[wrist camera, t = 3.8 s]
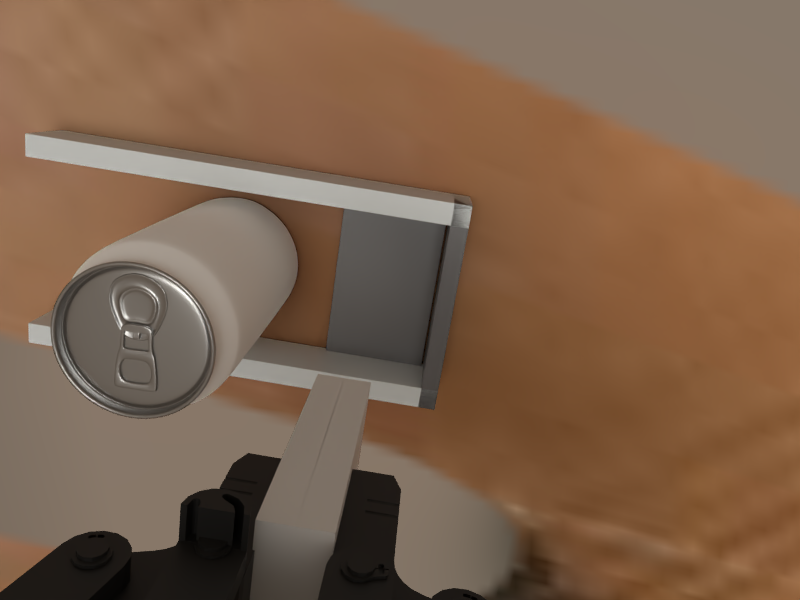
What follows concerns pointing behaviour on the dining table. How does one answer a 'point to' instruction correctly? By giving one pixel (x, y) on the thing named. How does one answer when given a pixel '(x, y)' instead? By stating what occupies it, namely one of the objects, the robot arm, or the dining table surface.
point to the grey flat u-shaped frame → (355, 274)
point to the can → (173, 307)
